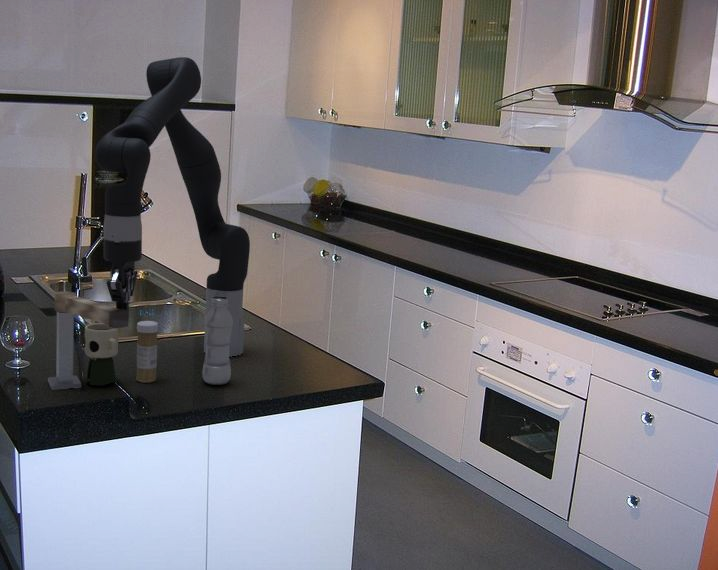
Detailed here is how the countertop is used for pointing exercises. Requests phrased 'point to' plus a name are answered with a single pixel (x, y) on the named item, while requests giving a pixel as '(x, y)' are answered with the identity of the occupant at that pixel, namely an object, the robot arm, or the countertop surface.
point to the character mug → (100, 353)
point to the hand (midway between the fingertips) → (122, 319)
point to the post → (64, 354)
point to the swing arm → (90, 309)
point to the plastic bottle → (217, 342)
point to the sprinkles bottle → (147, 351)
